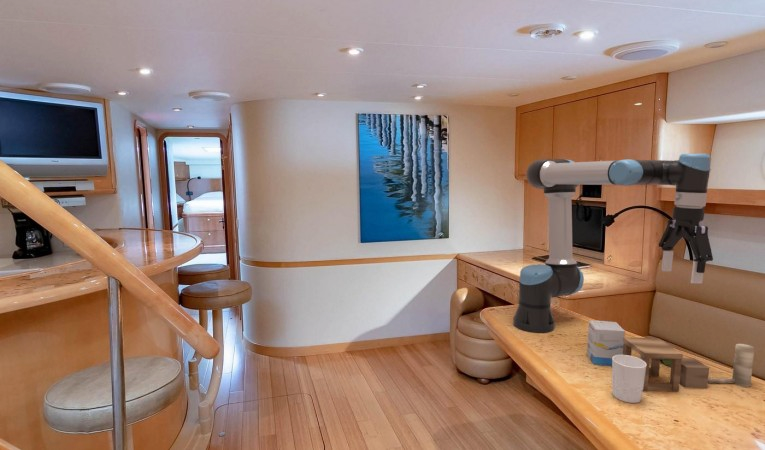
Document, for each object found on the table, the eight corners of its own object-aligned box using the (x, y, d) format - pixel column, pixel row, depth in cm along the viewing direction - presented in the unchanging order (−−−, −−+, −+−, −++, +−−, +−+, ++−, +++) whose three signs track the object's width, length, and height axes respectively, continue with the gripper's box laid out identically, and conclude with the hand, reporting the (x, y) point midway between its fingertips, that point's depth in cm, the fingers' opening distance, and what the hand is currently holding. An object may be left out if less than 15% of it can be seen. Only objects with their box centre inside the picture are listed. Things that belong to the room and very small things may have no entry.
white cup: (604, 388, 117) (606, 354, 116) (633, 389, 117) (635, 354, 116) (619, 404, 110) (621, 367, 108) (650, 404, 109) (653, 367, 108)
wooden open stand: (621, 372, 127) (623, 337, 126) (655, 373, 127) (658, 338, 125) (641, 391, 116) (644, 353, 115) (679, 392, 116) (682, 353, 114)
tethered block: (671, 377, 124) (674, 341, 123) (739, 378, 123) (743, 342, 122) (684, 387, 118) (688, 350, 117) (757, 389, 117) (761, 351, 116)
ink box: (623, 367, 130) (625, 330, 129) (593, 364, 132) (595, 328, 131) (614, 355, 139) (616, 321, 137) (586, 353, 140) (588, 319, 139)
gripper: (650, 202, 137) (643, 266, 140) (707, 211, 113) (697, 288, 116) (674, 202, 137) (666, 266, 140) (735, 212, 112) (725, 289, 116)
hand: (680, 276), depth 128 cm, fingers open, 13 cm apart
